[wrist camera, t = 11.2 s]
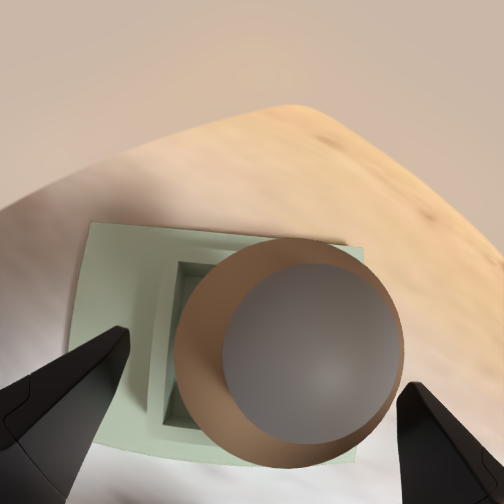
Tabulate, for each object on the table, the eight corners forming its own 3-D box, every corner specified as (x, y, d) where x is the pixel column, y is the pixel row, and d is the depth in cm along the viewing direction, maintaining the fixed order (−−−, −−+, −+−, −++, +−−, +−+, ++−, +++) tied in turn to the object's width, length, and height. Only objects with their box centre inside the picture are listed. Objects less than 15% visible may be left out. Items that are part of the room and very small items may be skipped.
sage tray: (72, 430, 16) (41, 443, 12) (97, 228, 20) (74, 201, 16) (347, 457, 17) (375, 476, 13) (356, 253, 21) (383, 230, 17)
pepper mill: (200, 394, 16) (154, 485, 4) (207, 305, 18) (182, 197, 6) (291, 400, 17) (427, 472, 4) (296, 312, 18) (431, 229, 6)
